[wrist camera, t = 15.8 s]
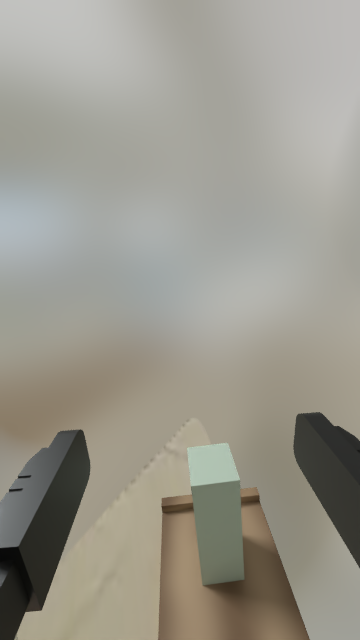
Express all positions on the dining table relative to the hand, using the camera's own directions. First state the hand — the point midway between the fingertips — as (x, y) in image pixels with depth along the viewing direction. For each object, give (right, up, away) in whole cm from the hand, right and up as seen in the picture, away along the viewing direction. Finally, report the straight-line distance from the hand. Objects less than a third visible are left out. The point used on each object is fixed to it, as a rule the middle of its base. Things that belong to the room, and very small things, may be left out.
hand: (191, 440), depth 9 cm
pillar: (+4, -20, +15) cm, 25 cm away
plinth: (+4, -23, +16) cm, 28 cm away
